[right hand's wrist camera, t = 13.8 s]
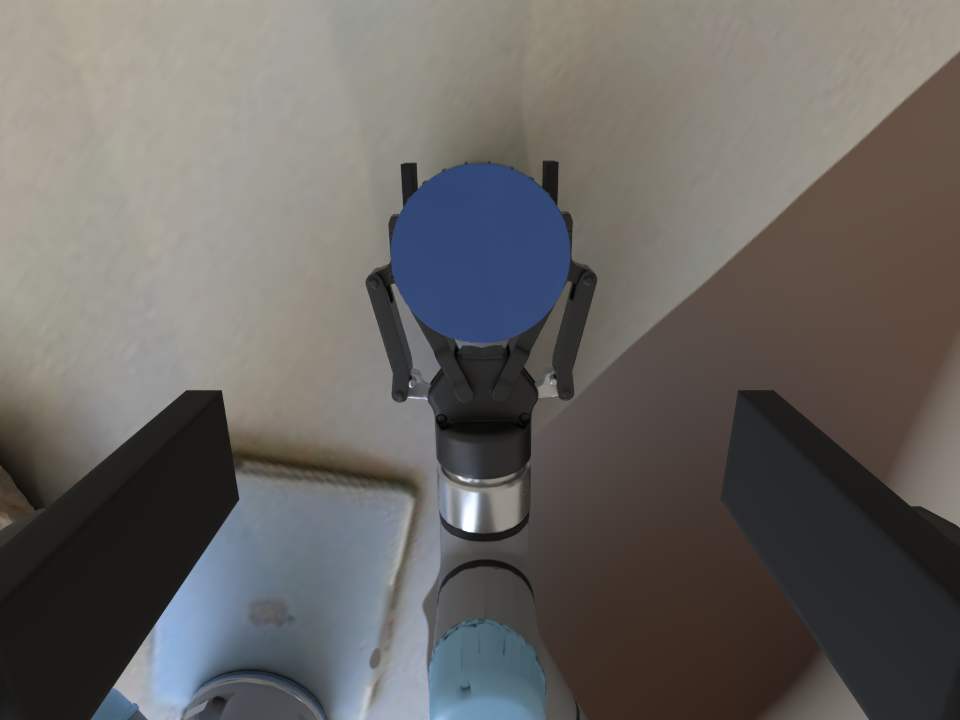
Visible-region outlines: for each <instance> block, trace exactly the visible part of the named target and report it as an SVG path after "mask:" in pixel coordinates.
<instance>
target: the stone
mask: <svg viewBox="0 0 960 720" xmlns="http://www.w3.org/2000/svg"><path fill="white" fill-rule="evenodd" d="M34 511H35V510H34V508H33V507H32V506H31V505H30V504H29V502H28V500H27V498H25V496H24V495H23V494H22V493H21V492H20V491H19V489H18V488H17V487H16V485H15V483H14V481H13V479H12V478H11V477H10V475H9V474H8V473H7V472H6V471H5V469H4V468H2V467H1V465H0V531H1V530H2V529H3V528H4V527H6V526H8V525H10V524H12V523H14V522H15V521H17V520H19V519H21V518H23V517H25V516H27V515H29V514H31V513H32V512H34Z"/></svg>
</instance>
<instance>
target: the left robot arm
mask: <svg viewBox="0 0 960 720" xmlns="http://www.w3.org/2000/svg"><path fill="white" fill-rule="evenodd" d="M558 164H559V162H556V161H543V178H542V188H543V189H544V190H545V191H546V192H548V193H549V194H550V195H551V196H550V197H551V198H552V199H553V201H554V202H555V204H556V205H557V197H558ZM401 176H402V194H403V208H404V206H405V204H406V203H407V199H408V198H409V197H411V196H412V195H413V194H414V193H415V192H416V191H417V190H418V183H417V163H404V164H401ZM561 213H562V214H563V219H564V221H565V224H566V227H567V230H568V234H569V236H570V237H569V240H570V254H571V250H572V224H573V221H572V218H571V216H570V214H569V213H568V212H561ZM399 215H400V214H393V215H392V216H391V218H390V221H389V238H390V253H391V241H392V236H393V232H394V228H395V225H396V222H397V221H396V219H397V218H398V217H399ZM570 258H571V257H570ZM391 264H392V263H391V261H390V263H389V264H388V265H385V266H383V267H380V268H376V269H374V270H373V271H372V272H371V274H370V275H369V276H368V277H367V279H366V286H367V290H368V293H369V296H370V299H371V303H372V306H373V309H374V313H375V316H376V319H377V322H378V326H379V329H380V332H381V335H382V339H383V342H384V345H385V349H386V352H387V355H388V358H389V362H390V365H391V368H392V371H393V383H392V398H393V400H395V401H396V402H399V403H400V402H404V401H405V400H406V399H407V397H408V398H417V399H426V400H428V402H429V404H430V405H431V407H432V408H433V411H434V414H435V432H436V454H437V460H438V462H439V463H438V467H437V479H438V498H439V513H440V531H441V567H440V578H439V588H438V610H437V618H436V626H435V634H434V642H433V649H432V655H431V660H430V663H429V668H430V669H429V675H428V677H429V679H430V684H429V689H430V719H431V720H587V718H586V716H585V715H584V713H583V711H582V710H581V708H580V706H579V705H578V703H577V701H576V700H575V698H574V696H573V694H572V692H571V691H570V689H569V687H568V685H567V684H566V682H565V680H564V678H563V677H562V675H561V673H560V671H559V670H558V668H557V666H556V664H555V663H554V661H553V659H552V658H551V656H550V654H549V652H548V651H547V649H546V647H545V646H544V644H543V642H542V640H541V637H540V635H539V631H538V627H537V621H536V614H535V608H534V595H533V588H532V579H531V571H530V560H529V509H530V471H531V466H530V463H529V459H530V456H531V415H532V410H533V407H534V405H535V404H536V402H537V400H538V398H545V397H553V396H559V398H560V399H562V400H564V401H567V400H570V399H571V398H572V397H573V396H574V386H573V377H572V370H573V366H574V363H575V359H576V355H577V352H578V348H579V344H580V341H581V337H582V334H583V330H584V326H585V323H586V319H587V316H588V312H589V308H590V305H591V301H592V297H593V294H594V290H595V287H596V283H597V277H596V275H595V274H594V272H593V271H592V270H591V269H590V268H589V267H588V266H587V265H582V264H579V263H576V262H574V261H572V258H571V260H570V267H569V272H568V276H567V280H566V282H567V281H570V282H572V285H571V288H570V292H569V296H568V300H567V304H566V307H565V311H564V315H563V319H562V323H561V327H560V330H559V334H558V338H557V342H556V346H555V349H554V354H553V362H552V364H553V367H549V368H547V369H546V370H545V371H544V375H543V378H542V379H541V380H540V381H539V382H535V381H534V379H533V378H532V377H531V376H530V374H529V373H528V372H527V370H526V369H525V368H524V365H525V363H526V361H527V359H528V357H529V354H530V351H531V348H532V347H533V345H534V343H535V341H536V339H537V337H538V335H539V333H540V331H541V330H542V328H543V326H544V324H545V322H546V320H547V318H548V316H549V315H550V313H551V311H552V309H553V307H554V306H553V307H552V308H551V310H550V311H549V312H548V313H547V314H546V315H545V316H544V317H543V318H542V319H541V320H540V321H539V322H538V323H536V324H535V325H534V326H532V327H531V328H529V329H528V330H526V331H525V332H523V333H521V334H519V335H517V336H514V337H511V338H510V339H509V341H508V343H507V345H506V347H505V348H503V346H502V345H492V346H489V347H485V348H479V347H475V346H462V348H461V349H459V347H458V345H457V343H456V342H455V340H454V339H453V338H450V337H447V336H445V335H443V334H441V333H438V332H437V331H435V330H434V329H432V328H430V327H429V326H427V325H426V324H425V323H424V322H422V321H421V320H420V319H419V318H418V317H417V316H416V315H415V314H414V313H413V312H412V310H411V309H410V310H411V312H412V314H413V316H414V317H415V319H416V321H417V323H418V324H419V326H420V328H421V330H422V331H423V333H424V335H425V337H426V338H427V340H428V342H429V344H430V346H431V347H432V349H433V351H434V354H435V357H436V359H437V361H438V363H439V365H440V366H441V369H440V370H439V372H438V373H437V374H436V376H435V377H434V379H433V380H432V381H431V383H426V382H425V381H424V380H423V379H422V375H421V373H420V371H419V370H417V369H413V368H412V365H413V364H412V357H411V353H410V349H409V346H408V342H407V339H406V335H405V332H404V328H403V325H402V322H401V318H400V315H399V311H398V308H397V304H396V301H395V298H394V294H393V291H392V287H391V284H394V283H395V284H396V282H395V278H394V275H393V270H392V265H391ZM565 284H566V283H565ZM396 285H397V284H396ZM564 286H565V285H564ZM554 305H555V304H554ZM138 709H139V707H138V706H137V704H135V703H133V704H132V703H131V702H130V701H129V700H128V699H126V698H125V697H124V696H123V695H122V694H121V693H120V692H119V691H118V690H116V689H115V688H112V689H111V690H110V692H109V693H108V695H107V696H106V698H105V699H104V701H103V702H102V704H101V705H100V707H99V708H98V710H97V711H96V713H95V714H94V716H93V717H92V719H91V720H147V719H146V718H145V716H144V715H143V714H142V713H141V712H140V711H139V710H138ZM183 720H326V718H325V714H324V712H323V709H322V708H321V706H320V704H319V703H318V702H317V700H316V699H315V698H314V697H313V696H312V695H311V694H310V693H309V692H308V691H307V690H306V689H304V688H303V687H301V686H300V685H298V684H297V683H295V682H293V681H291V680H289V679H287V678H284V677H281V676H279V675H275V674H272V673H267V672H260V671H237V672H231V673H227V674H223V675H220V676H218V677H215V678H213V679H211V680H210V681H208V682H207V683H205V684H204V685H203V686H201V687H200V688H199V689H198V691H197V692H196V693H195V694H194V696H193V698H192V700H191V701H190V703H189V705H188V707H187V709H186V711H185V714H184V717H183Z"/></svg>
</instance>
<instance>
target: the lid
mask: <svg viewBox="0 0 960 720" xmlns="http://www.w3.org/2000/svg"><path fill="white" fill-rule="evenodd" d="M533 180H534V179H533V178H532V177H531V176H530V178H529V177H528V176H526V175H525V174H523V173H521V172H519V171H517V170H515V169H513V167H512V166H510V167H507V166H504V165H500V164H495V163H490V161H488V163H487V162H475V163H467V162H465V164H462V165H457V166H454V167H451V168H449V169H443V170H442V172H440V173H439V174H437V175H435V176H434V177H432V178H431V179H430V180H428V181H426V180H425V181H424V182H423V183H422V184H423V185H422V186H421V187H420V188H419V189H418V190H417V191H416V192H415V193H414V194H413V195H412V196H411V197H409V198H408V199H407V203H406V204H405V206H404V208H403V209H402V211H401V213H400V215H399V217H398V218H397V219H396V221H397V222H396V225H395V228H394V232H393V236H392V241H391V263H392V264H391V265H392V270H393V275H394V278H395V282H396V284H397V287H398V289H399V292H400V294H401V295H402V297H403V299H404V301H405V302H406V304H407V305H408V307H409V308H410V309H411V310H412V312H413V313H414V314H415V315H416V316H417V317H418V318H419V319H420V320H421V321H422V322H424V323H425V324H426V325H427V326H429V327H430V328H432V329H434V330H435V331H437V332H438V333H441V334H443V335H445V336H447V337H450V338H453V339H456V340H460V341H465V342H471V343H489V342H497V341H501V340H505V339H508V338H511V337H514V336H517V335H519V334H521V333H523V332H525V331H526V330H528V329H529V328H531V327H532V326H534V325H535V324H536V323H538V322H539V321H540V320H541V319H542V318H543V317H544V316H545V315H546V314H547V313H548V312H549V311H550V310H551V308H552V307H553V306H554V304H555V303H556V301H557V300H558V298H559V296H560V294H561V292H562V290H563V288H564V285H565V283H566V280H567V276H568V272H569V267H570V260H571V258H570V257H571V254H570V240H569V237H570V236H569V234H568V230H567V227H566V224H565V221H564V219H563V214H562V213H561V212H560V210H559V208H558V207H557V205H556V204H555V202H554V201H553V199H552V198H551V197H550V196H551V195H550V194H549V193H548V192H546V191H545V190H544V189H543V188H542V187H541V186H539V185H538V184H537V183H536V182H535V181H533Z"/></svg>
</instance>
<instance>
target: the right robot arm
mask: <svg viewBox="0 0 960 720" xmlns="http://www.w3.org/2000/svg"><path fill="white" fill-rule="evenodd" d="M238 500H239V495H238V489H237V482H236V476H235V470H234V464H233V457H232V451H231V445H230V439H229V432H228V426H227V420H226V414H225V408H224V401H223V395H222V390H186V391H185V392H184V393H183V394H182V395H180V396H179V397H178V398H177V399H176V400H175V401H173V402H172V403H171V404H170V405H169V406H167V407H166V408H165V409H164V410H163V411H162V412H160V413H159V414H158V415H157V416H156V417H154V418H153V419H152V420H151V421H150V422H149V423H147V424H146V425H145V426H144V427H143V428H141V429H140V430H139V431H138V432H137V433H136V434H134V435H133V436H132V437H131V438H130V439H128V440H127V441H126V442H125V443H124V444H123V445H121V446H120V447H119V448H118V449H117V450H115V451H114V452H113V453H112V454H111V455H110V456H108V457H107V458H106V459H105V460H104V461H102V462H101V463H100V464H99V465H98V466H97V467H95V468H94V469H93V470H92V471H91V472H89V473H88V474H87V475H86V476H85V477H84V478H82V479H81V480H80V481H79V482H78V483H76V484H75V485H74V486H73V487H72V488H71V489H69V490H68V491H67V492H66V493H65V494H64V495H62V496H61V497H60V498H59V499H58V500H56V501H55V502H54V503H53V504H52V505H51V506H49V507H48V508H47V509H38V510H36V511H34V512H32V513H31V514H29V515H27V516H25V517H23V518H21V519H19V520H17V521H15V522H14V523H12V524H10V525H8V526H6V527H4V528H3V529H2V530H1V531H0V720H91V719H92V717H93V716H94V714H95V713H96V711H97V710H98V708H99V707H100V705H101V704H102V702H103V701H104V699H105V698H106V696H107V695H108V693H109V692H110V690H111V689H112V687H113V686H114V685H115V683H116V682H117V680H118V679H119V677H120V676H121V674H122V673H123V671H124V670H125V668H126V667H127V665H128V664H129V662H130V661H131V659H132V658H133V656H134V655H135V653H136V652H137V650H138V649H139V647H140V646H141V644H142V643H143V641H144V640H145V638H146V637H147V636H148V634H149V633H150V631H151V630H152V628H153V627H154V625H155V624H156V622H157V621H158V619H159V618H160V616H161V615H162V613H163V612H164V610H165V609H166V607H167V606H168V604H169V603H170V601H171V600H172V598H173V597H174V595H175V594H176V592H177V591H178V590H179V588H180V587H181V585H182V584H183V582H184V581H185V579H186V578H187V576H188V575H189V573H190V572H191V570H192V569H193V567H194V566H195V564H196V563H197V561H198V560H199V558H200V557H201V555H202V554H203V552H204V551H205V549H206V548H207V546H208V545H209V543H210V542H211V541H212V539H213V538H214V536H215V535H216V533H217V532H218V530H219V529H220V527H221V526H222V524H223V523H224V521H225V520H226V518H227V517H228V515H229V514H230V512H231V511H232V509H233V508H234V506H235V505H236V503H237V502H238ZM721 500H722V502H723V503H724V505H725V506H726V508H727V509H728V511H729V512H730V514H731V515H732V517H733V518H734V520H735V521H736V523H737V524H738V526H739V527H740V529H741V530H742V532H743V533H744V534H745V536H746V537H747V539H748V540H749V542H750V543H751V545H752V546H753V548H754V549H755V551H756V552H757V554H758V555H759V557H760V558H761V560H762V561H763V563H764V564H765V566H766V567H767V569H768V570H769V572H770V573H771V575H772V576H773V578H774V579H775V581H776V582H777V583H778V585H779V586H780V588H781V590H782V591H783V592H784V594H785V595H786V597H787V598H788V600H789V601H790V603H791V604H792V606H793V607H794V609H795V610H796V612H797V613H798V615H799V616H800V618H801V619H802V621H803V622H804V624H805V625H806V627H807V628H808V630H809V631H810V633H811V634H812V636H813V637H814V638H815V640H816V641H817V643H818V644H819V646H820V647H821V649H822V650H823V652H824V653H825V655H826V656H827V658H828V659H829V661H830V662H831V664H832V665H833V667H834V668H835V670H836V671H837V673H838V674H839V676H840V677H841V679H842V680H843V682H844V683H845V685H846V686H847V687H848V689H849V690H850V692H851V693H852V695H853V696H854V698H855V699H856V701H857V702H858V704H859V705H860V707H861V708H862V710H863V711H864V713H865V714H866V716H867V717H868V719H869V720H960V528H959V527H958V526H957V525H955V524H953V523H951V522H949V521H947V520H946V519H944V518H942V517H940V516H938V515H936V514H934V513H932V512H930V511H928V510H926V509H925V508H923V507H920V506H909V505H908V504H907V503H906V502H905V501H904V500H902V499H901V498H900V497H899V496H898V495H896V494H895V493H894V492H893V491H892V490H891V489H889V488H888V487H887V486H886V485H885V484H883V483H882V482H881V481H880V480H879V479H878V478H876V477H875V476H874V475H873V474H872V473H871V472H869V471H868V470H867V469H866V468H865V467H863V466H862V465H861V464H860V463H859V462H858V461H856V460H855V459H854V458H853V457H852V456H850V455H849V454H848V453H847V452H846V451H845V450H843V449H842V448H841V447H840V446H839V445H837V444H836V443H835V442H834V441H833V440H831V439H830V438H829V437H828V436H827V435H826V434H824V433H823V432H822V431H821V430H820V429H819V428H817V427H816V426H815V425H814V424H813V423H811V422H810V421H809V420H808V419H807V418H805V417H804V416H803V415H802V414H801V413H800V412H798V411H797V410H796V409H795V408H794V407H793V406H791V405H790V404H789V403H788V402H787V401H785V400H784V399H783V398H782V397H781V396H779V395H778V394H777V393H776V392H775V391H773V390H739V391H738V395H737V401H736V408H735V414H734V420H733V426H732V432H731V439H730V445H729V451H728V457H727V464H726V470H725V476H724V482H723V488H722V495H721Z"/></svg>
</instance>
